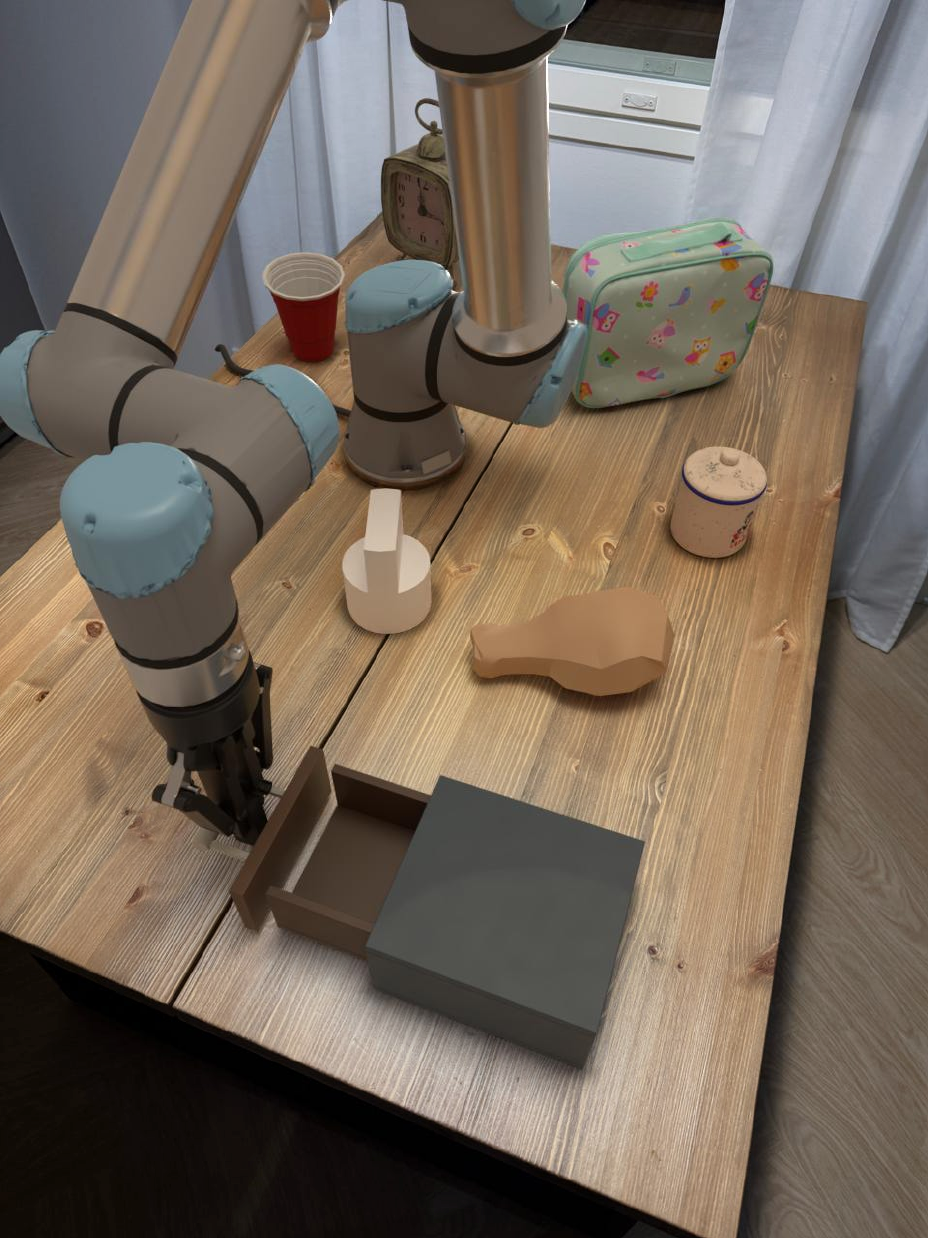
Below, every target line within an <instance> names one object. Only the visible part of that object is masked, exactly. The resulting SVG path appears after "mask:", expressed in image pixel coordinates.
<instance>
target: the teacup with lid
mask: <svg viewBox="0 0 928 1238" xmlns="http://www.w3.org/2000/svg"><path fill="white" fill-rule="evenodd" d="M767 487H768V476H767V472H766V470H765V468H764V466H763V464H761V463H760V462H759V461H758V459H756V458H755V457H754V456H752V455H751V454H749V453H747V452H745V451H742V450H740V449H737V448H733V447H729V446H709V447H704V448H701V449H699V450H696V451H694V452H692V454H690V455H689V456H688V457H687V459H686V460H685V461H684V463H683V465H682V468H681V480H680V484H679V488H678V493H677V497H676V500H675V504H674V508H673V513H672V517H671V519H670V520H671V521H670V532H671V535H672V537H673V539H674V540H675V542H676V543H677V544H678V546H680V547H682V548H683V549H684V550H686V551H687V552H689V553H691V554H693V555H697V556H699V557H704V558H710V559H718V558H726V557H730V556H732V555H734V554H736V553H737V552H739V551H740V550H741V549H743V546H744V545H745V543H746V541H747V538H748V535H749V532H750V529H751V527H752V523H753V520H754V517H755V514H756V513H757V509H758V506H759V503H760V501H761V497H762V496H763V495H764V493H765V492H766V490H767Z"/></svg>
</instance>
